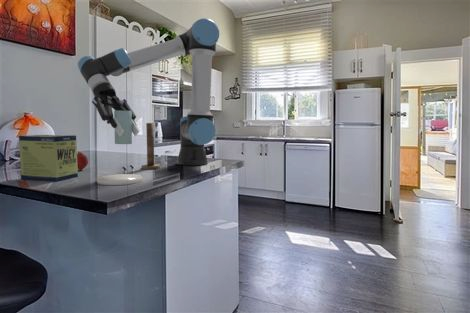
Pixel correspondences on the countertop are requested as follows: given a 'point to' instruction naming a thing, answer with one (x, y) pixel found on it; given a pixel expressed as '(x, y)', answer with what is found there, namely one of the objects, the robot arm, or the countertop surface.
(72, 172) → the protein box
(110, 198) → the countertop surface
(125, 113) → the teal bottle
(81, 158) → the red fruit
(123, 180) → the cream plate
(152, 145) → the walnut post
